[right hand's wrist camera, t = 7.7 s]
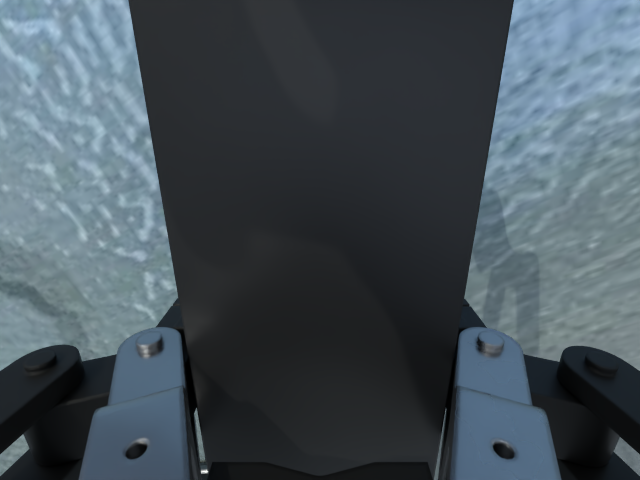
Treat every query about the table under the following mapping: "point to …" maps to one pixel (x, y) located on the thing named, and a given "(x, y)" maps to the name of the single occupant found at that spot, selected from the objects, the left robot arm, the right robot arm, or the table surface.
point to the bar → (321, 213)
